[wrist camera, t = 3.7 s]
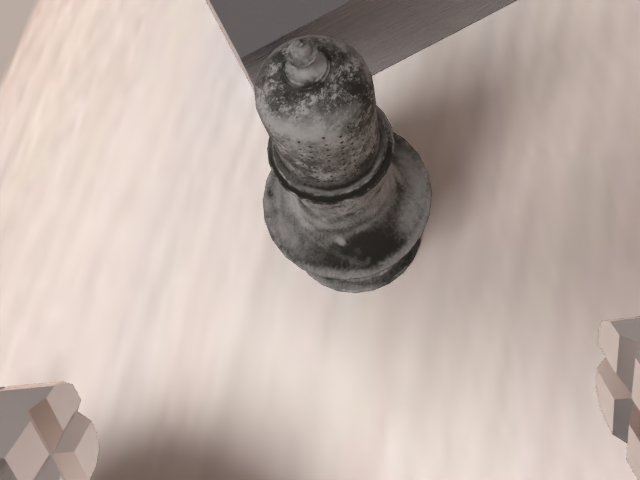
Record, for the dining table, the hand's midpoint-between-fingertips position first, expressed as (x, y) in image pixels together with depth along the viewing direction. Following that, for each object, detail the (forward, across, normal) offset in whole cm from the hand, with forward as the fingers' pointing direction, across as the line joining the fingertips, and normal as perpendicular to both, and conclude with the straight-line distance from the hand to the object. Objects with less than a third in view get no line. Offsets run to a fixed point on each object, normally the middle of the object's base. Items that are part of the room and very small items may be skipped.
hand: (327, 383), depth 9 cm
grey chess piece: (+14, 0, +4) cm, 15 cm away
